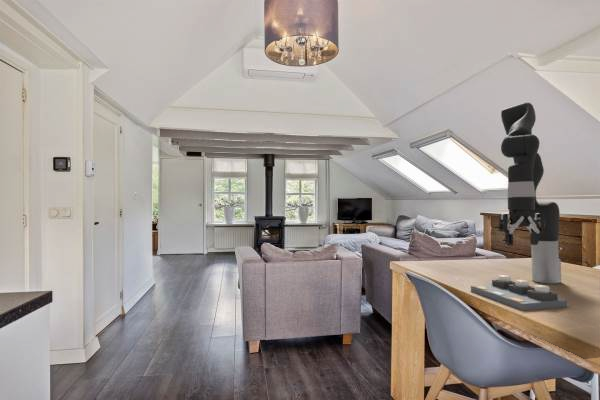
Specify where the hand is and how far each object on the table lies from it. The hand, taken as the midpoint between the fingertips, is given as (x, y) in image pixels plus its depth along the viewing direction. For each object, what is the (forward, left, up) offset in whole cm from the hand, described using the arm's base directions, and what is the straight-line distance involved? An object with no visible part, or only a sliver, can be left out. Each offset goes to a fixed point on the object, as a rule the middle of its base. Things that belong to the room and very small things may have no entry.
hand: (521, 245), depth 112 cm
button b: (-5, -6, -15) cm, 17 cm away
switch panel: (-2, -6, -19) cm, 20 cm away
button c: (-5, +2, -15) cm, 16 cm away
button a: (-5, -14, -15) cm, 21 cm away
